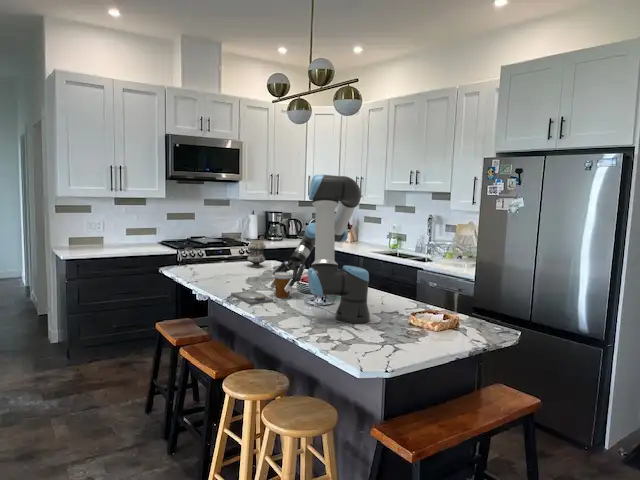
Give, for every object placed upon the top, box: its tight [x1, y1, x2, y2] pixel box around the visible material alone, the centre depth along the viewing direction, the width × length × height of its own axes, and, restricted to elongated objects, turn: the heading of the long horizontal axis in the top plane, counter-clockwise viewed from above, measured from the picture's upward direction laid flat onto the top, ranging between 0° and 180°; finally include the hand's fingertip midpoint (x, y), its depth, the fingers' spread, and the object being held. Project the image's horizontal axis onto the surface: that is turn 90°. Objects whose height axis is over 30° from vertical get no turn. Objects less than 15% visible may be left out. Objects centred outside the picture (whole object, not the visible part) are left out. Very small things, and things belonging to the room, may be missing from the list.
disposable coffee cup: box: [273, 271, 293, 299], centre depth 247 cm, size 10×10×12 cm
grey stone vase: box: [247, 239, 266, 269], centre depth 326 cm, size 12×12×18 cm
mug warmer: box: [230, 290, 275, 306], centre depth 239 cm, size 20×13×3 cm, turn 37°
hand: (278, 288), depth 244 cm, fingers closed on disposable coffee cup, 9 cm apart
